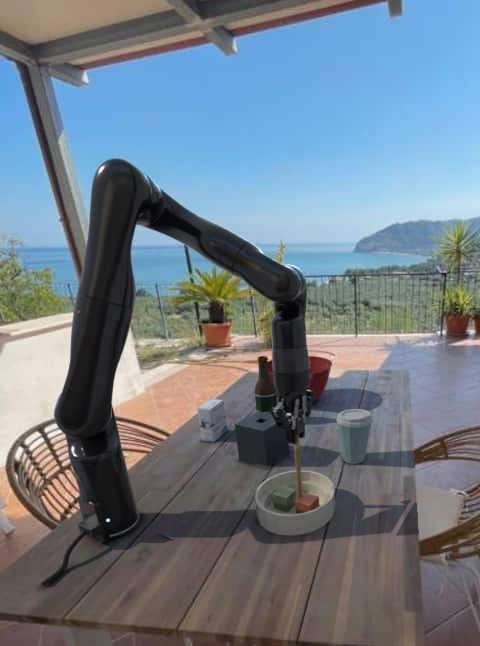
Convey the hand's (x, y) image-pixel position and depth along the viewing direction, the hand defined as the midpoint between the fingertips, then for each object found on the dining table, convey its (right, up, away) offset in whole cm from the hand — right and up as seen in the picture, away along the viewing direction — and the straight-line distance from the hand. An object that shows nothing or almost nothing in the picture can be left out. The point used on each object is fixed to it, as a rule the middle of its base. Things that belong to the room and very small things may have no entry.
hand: (296, 439), depth 87 cm
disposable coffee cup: (+13, -9, +30) cm, 33 cm away
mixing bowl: (-11, +9, +76) cm, 77 cm away
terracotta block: (+2, -18, +4) cm, 18 cm away
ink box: (-34, -3, +44) cm, 56 cm away
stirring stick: (0, -15, +6) cm, 16 cm away
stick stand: (-15, -8, +30) cm, 35 cm away
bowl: (-1, -18, +6) cm, 19 cm away
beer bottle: (-19, +1, +55) cm, 59 cm away
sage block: (-4, -17, +7) cm, 18 cm away
